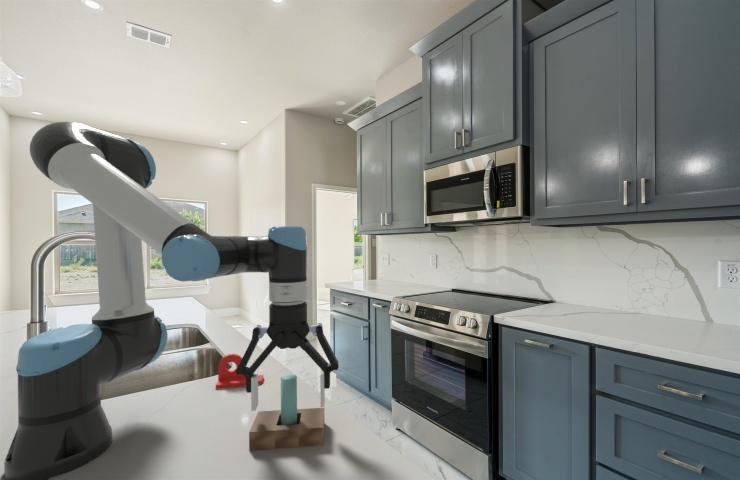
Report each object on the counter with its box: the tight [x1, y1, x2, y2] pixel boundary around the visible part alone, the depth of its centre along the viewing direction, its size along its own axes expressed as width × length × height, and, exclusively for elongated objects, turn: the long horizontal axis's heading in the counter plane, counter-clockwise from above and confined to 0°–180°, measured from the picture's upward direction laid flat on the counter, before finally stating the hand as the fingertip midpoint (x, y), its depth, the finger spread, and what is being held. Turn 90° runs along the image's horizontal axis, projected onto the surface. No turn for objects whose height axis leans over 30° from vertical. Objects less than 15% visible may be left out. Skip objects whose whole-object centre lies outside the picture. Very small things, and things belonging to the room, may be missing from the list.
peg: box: [280, 373, 298, 425], centre depth 71 cm, size 3×3×12 cm
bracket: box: [215, 353, 264, 390], centre depth 97 cm, size 12×4×8 cm, turn 102°
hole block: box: [248, 407, 325, 451], centre depth 71 cm, size 14×8×4 cm, turn 96°
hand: (289, 405), depth 71 cm, fingers open, 13 cm apart
